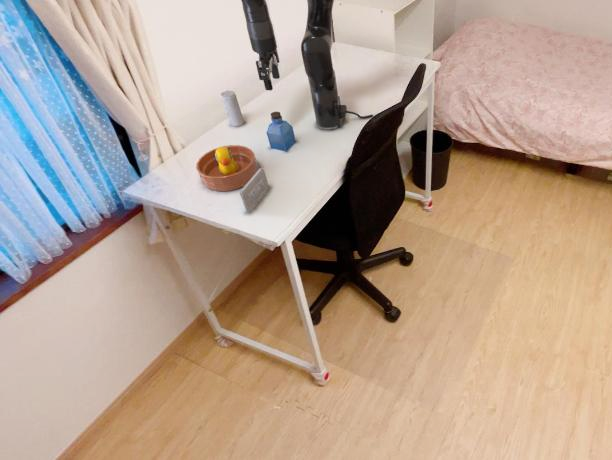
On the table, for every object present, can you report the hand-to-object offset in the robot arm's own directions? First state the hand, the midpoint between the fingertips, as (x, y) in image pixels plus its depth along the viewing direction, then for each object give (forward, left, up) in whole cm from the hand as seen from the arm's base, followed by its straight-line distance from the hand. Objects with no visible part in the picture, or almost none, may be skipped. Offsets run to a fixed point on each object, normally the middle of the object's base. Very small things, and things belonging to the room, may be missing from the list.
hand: (273, 83), depth 144 cm
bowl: (+11, +26, -18) cm, 34 cm away
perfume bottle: (-2, +9, -18) cm, 20 cm away
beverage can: (+18, -5, -18) cm, 26 cm away
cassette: (0, +39, -18) cm, 43 cm away
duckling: (+11, +26, -18) cm, 34 cm away
